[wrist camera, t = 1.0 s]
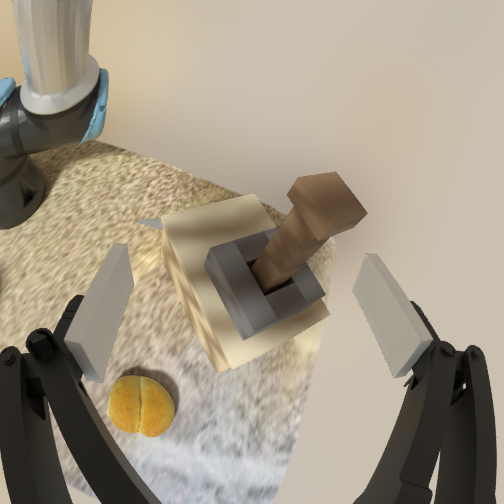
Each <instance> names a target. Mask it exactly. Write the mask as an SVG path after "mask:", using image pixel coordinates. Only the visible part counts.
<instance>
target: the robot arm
mask: <svg viewBox="0 0 504 504" xmlns="http://www.w3.org/2000/svg"><path fill="white" fill-rule="evenodd" d="M12 1H13V12H14V20H15V27H16V34H17V39H18V44H19V50H20V55H21V59H22V64H23V68H24V72H25V76H26V78H25V79H24V81H23V83H22V85H21V86H18V87H16V82H15V81H14V79H13V78H3V79H1V80H0V229H1V230H3V229H9V228H12V227H15V226H17V225H19V224H21V223H22V222H24V221H25V220H26V219H28V218H29V217H30V216H31V215H32V214H33V213H34V212H35V211H36V209H37V208H38V207H39V205H40V203H41V202H42V200H43V197H44V195H45V190H46V182H45V178H44V175H43V172H42V170H41V168H40V167H39V166H38V164H37V163H36V162H35V161H34V159H33V158H32V157H31V156H30V154H34V153H38V152H42V151H46V150H50V149H54V148H59V147H63V146H68V145H74V144H77V145H78V144H82V143H83V142H87V141H91V140H95V139H96V138H98V137H99V136H100V135H101V133H102V130H103V127H104V122H105V116H106V105H107V98H108V83H109V82H108V81H109V78H108V71H107V70H106V69H101V68H99V66H98V63H97V61H96V60H95V59H94V58H93V57H92V56H91V55H89V35H90V21H91V11H92V2H93V0H12ZM133 287H134V281H133V276H132V271H131V265H130V260H129V254H128V248H127V244H113V246H112V248H111V249H110V251H109V253H108V254H107V256H106V258H105V260H104V261H103V263H102V265H101V267H100V268H99V270H98V272H97V274H96V275H95V277H94V279H93V281H92V283H91V285H90V287H89V288H88V290H87V292H86V294H85V296H83V295H76V296H75V297H74V298H73V299H72V300H71V301H69V303H68V305H67V307H66V309H65V312H64V313H63V315H62V318H60V320H59V322H58V324H57V327H56V329H55V331H54V333H53V334H52V333H51V331H50V330H48V329H47V328H39V329H36V330H34V331H33V332H31V333H30V335H29V336H28V337H27V340H26V348H27V349H28V351H29V352H30V353H24V354H21V353H20V351H19V350H18V348H16V347H14V346H9V347H7V348H5V349H4V350H3V351H2V352H1V353H0V452H1V459H2V465H3V470H4V475H5V480H6V485H7V489H8V493H9V497H10V500H11V504H73V503H72V500H71V498H70V495H69V492H68V489H67V486H66V483H65V479H64V476H63V473H62V469H61V465H60V462H59V458H58V454H57V449H56V445H55V440H54V436H53V430H52V425H51V419H50V413H49V406H48V402H49V405H50V407H51V410H52V412H53V415H54V417H55V419H56V422H57V424H58V426H59V429H60V431H61V433H62V435H63V437H64V440H65V442H66V444H67V446H68V448H69V450H70V452H71V454H72V456H73V457H74V459H75V461H76V463H77V465H78V467H79V468H80V470H81V472H82V474H83V475H84V477H85V479H86V480H87V482H88V484H89V485H90V487H91V488H92V490H93V491H94V493H95V494H96V496H97V497H98V499H99V500H100V502H101V503H102V504H162V503H161V502H160V501H159V499H158V498H157V497H156V496H155V495H154V494H153V492H152V491H151V490H150V489H149V488H148V486H147V485H146V484H145V483H144V481H143V480H142V479H141V477H140V476H139V475H138V474H137V472H136V471H135V470H134V468H133V467H132V465H131V464H130V463H129V461H128V460H127V458H126V457H125V456H124V454H123V453H122V451H121V450H120V448H119V447H118V445H117V444H116V442H115V440H114V439H113V437H112V436H111V434H110V432H109V431H108V429H107V428H106V426H105V424H104V422H103V421H102V419H101V417H100V415H99V414H98V412H97V410H96V408H95V406H94V405H93V403H92V401H91V399H90V397H89V395H88V393H87V391H86V389H85V387H84V385H83V383H82V381H81V378H82V374H84V375H85V377H86V379H87V380H90V381H95V382H100V383H103V380H104V376H105V372H106V369H107V365H108V362H109V358H110V355H111V352H112V348H113V345H114V342H115V339H116V336H117V332H118V329H119V326H120V323H121V320H122V317H123V315H124V312H125V309H126V306H127V303H128V300H129V298H130V295H131V292H132V289H133ZM353 293H354V294H355V296H356V298H357V300H358V302H359V304H360V306H361V308H362V310H363V312H364V314H365V316H366V318H367V321H368V323H369V325H370V327H371V329H372V331H373V333H374V335H375V337H376V340H377V342H378V344H379V346H380V348H381V351H382V353H383V355H384V357H385V360H386V362H387V364H388V366H389V369H390V371H391V373H392V376H393V378H398V377H402V376H406V374H407V373H408V372H409V371H410V370H411V368H412V370H413V372H414V374H413V375H412V376H411V378H410V379H409V380H408V381H407V382H406V383H405V385H404V387H406V386H407V385H408V384H409V385H408V389H407V392H406V395H405V398H404V401H403V404H402V407H401V410H400V413H399V416H398V418H397V421H396V424H395V426H394V429H393V431H392V434H391V436H390V439H389V441H388V443H387V446H386V448H385V451H384V453H383V455H382V457H381V460H380V462H379V464H378V466H377V468H376V470H375V472H374V474H373V476H372V478H371V480H370V482H369V484H368V485H367V488H366V489H365V491H364V492H363V493H362V494H361V495H360V496H359V497H358V498H357V499H356V500H355V502H354V503H353V504H430V502H431V499H432V495H433V494H432V491H431V490H430V489H429V483H430V480H431V477H432V474H433V471H434V468H435V465H436V462H437V459H438V455H439V452H440V462H439V472H438V480H437V487H436V494H435V500H434V504H496V498H495V489H496V469H497V468H496V467H497V449H496V429H495V416H494V408H493V400H492V393H491V387H490V380H489V375H488V370H487V365H486V360H485V356H484V354H483V352H482V350H481V349H480V348H479V347H477V346H475V345H470V346H468V348H467V349H466V350H465V351H464V352H463V351H456V350H455V348H454V347H453V346H452V345H451V344H450V343H448V342H446V341H441V340H440V339H439V337H438V335H437V334H436V332H435V330H434V329H433V327H432V326H431V324H430V323H429V321H428V319H427V318H426V316H424V313H423V311H422V310H421V308H420V307H419V306H418V305H416V303H414V302H413V301H409V299H408V298H407V296H406V295H405V293H404V292H403V290H402V289H401V287H400V286H399V284H398V283H397V281H396V280H395V279H394V277H393V276H392V274H391V273H390V271H389V270H388V269H387V267H386V266H385V264H384V263H383V262H382V260H381V259H380V257H379V256H378V255H377V254H366V255H365V258H364V261H363V264H362V266H361V269H360V272H359V275H358V277H357V280H356V283H355V285H354V288H353ZM465 383H466V388H465V389H463V384H465ZM440 448H441V449H440Z"/></svg>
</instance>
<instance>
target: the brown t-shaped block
mask: <svg viewBox="0 0 504 504" xmlns="http://www.w3.org/2000/svg"><path fill="white" fill-rule="evenodd" d="M287 196H288V197H289V199H290V200H291V202H292V203H293V205H294V207H293V209H292V210H291V211H290V213H289V214H288V216H287V217H286V219H285V220H284V221H283V223H282V224H281V226H280V227H279V229H278V230H277V232H276V233H275V234H274V236H273V237H272V239H271V240H270V242H269V243H268V244H267V246H266V247H265V249H264V250H263V252H262V253H261V254H260V256H259V257H258V259H257V260H256V262H255V263H254V264H253V266H252V267H251V269H250V271H251V273H252V275H253V276H254V278H255V280H256V282H257V283H258V285H259V287H260V289H261V290H262V292H263V294H264V296H266V295H268V294H271V293H273V292H275V291H277V290H278V289H279V288H280V287H281V286H282V285H283V284H284V283H285V282H286V281H287V280H288V279H289V278H290V277H291V276H292V275H293V274H294V273H295V272H296V271H297V270H298V269H299V268H300V267H301V266H302V265H303V264H304V263H305V262H306V261H307V260H308V259H309V258H310V257H311V256H312V255H313V254H314V253H315V252H316V251H317V250H318V249H319V248H320V247H321V246H322V245H323V244H324V243H325V242H326V241H327V240H328V239H329V238H330V237H331V236H333V235H336V234H338V233H341V232H343V231H346V230H348V229H351V228H354V227H355V226H356V225H357V224H358V223H359V222H360V220H362V219H363V218H364V217H365V216H366V215H367V212H366V211H365V209H364V208H363V206H362V205H361V203H360V202H359V201H358V199H357V198H356V197H355V195H354V194H353V193H352V192H351V190H350V189H349V188H348V186H347V185H346V184H345V183H344V181H343V180H342V179H341V177H340V176H339V175H338V174H337V173H336V172H330V173H323V174H317V175H311V176H304V177H298V178H297V180H296V181H295V183H294V185H293V186H292V188H291V189H290V191H289V192H288V194H287Z"/></svg>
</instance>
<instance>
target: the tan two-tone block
mask: <svg viewBox="0 0 504 504" xmlns="http://www.w3.org/2000/svg"><path fill="white" fill-rule="evenodd" d="M161 222H162V224H163V236H162V247H161V257H162V260H163V262H164V264H165V267H166V269H167V271H168V274H169V276H170V278H171V281H172V283H173V285H174V287H175V290H176V292H177V294H178V296H179V299H180V301H181V303H182V305H183V307H184V309H185V311H186V314H187V316H188V318H189V320H190V322H191V324H192V326H193V328H194V330H195V332H196V334H197V336H198V338H199V340H200V342H201V344H202V346H203V348H204V350H205V352H206V354H207V356H208V358H209V360H210V362H211V363H212V365H213V367H214V369H215V371H216V373H220V372H222V371H224V370H226V369H228V368H230V367H231V368H232V369H235V368H237V367H239V366H241V365H243V364H245V363H247V362H248V361H250V360H252V359H254V358H256V357H258V356H260V355H262V354H264V353H265V352H267V351H269V350H271V349H273V348H274V347H276V346H278V345H280V344H282V343H283V342H285V341H287V340H289V339H290V338H292V337H294V336H296V335H297V334H299V333H301V332H302V331H304V330H306V329H307V328H309V327H311V326H312V325H314V324H316V323H317V322H319V321H321V320H322V319H324V318H325V317H327V316H329V315H330V313H329V311H328V310H327V308H326V306H325V304H324V303H323V301H322V299H321V298H322V297H323V296H325V295H326V294H325V292H324V291H323V289H322V287H321V286H320V284H319V282H318V281H317V279H316V278H315V276H314V274H313V273H312V271H311V269H310V268H309V266H308V265H307V263H306V262H305V263H304V264H303V265H302V266H301V267H300V268H299V269H298V270H297V271H296V272H295V273H294V274H293V275H292V276H291V277H290V278H289V279H288V280H287V281H286V282H285V283H284V284H283V285H282V286H281V287H280V288H279V289H278V290H277V291H275V292H273V293H271V294H268V295H266V296H264V294H263V292H262V290H261V289H260V287H259V285H258V283H257V282H256V280H255V278H254V276H253V275H252V273H251V271H250V269H251V267H252V266H253V264H254V263H255V262H256V260H257V259H258V257H259V256H260V254H261V253H262V252H263V250H264V249H265V247H266V246H267V244H268V243H269V242H270V240H271V239H272V237H273V236H274V234H275V233H276V232H277V230H278V229H279V227H280V226H279V227H277V226H276V225H275V223H274V222H273V220H272V219H271V217H270V215H269V214H268V212H267V211H266V209H265V208H264V206H263V205H262V203H261V202H260V200H259V199H258V197H257V195H256V194H255V193H254V194H250V195H245V196H240V197H236V198H231V199H227V200H223V201H218V202H214V203H210V204H206V205H201V206H197V207H193V208H189V209H185V210H181V211H177V212H173V213H170V214H166V215H162V217H161Z"/></svg>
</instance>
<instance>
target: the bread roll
mask: <svg viewBox="0 0 504 504" xmlns="http://www.w3.org/2000/svg"><path fill="white" fill-rule="evenodd" d="M107 415H108V416H109V417H110V419H111V421H112V423H113V424H114V425H115V426H116V427H118V428H119V429H121V430H122V431H125V432H129V433H136V432H139V433H142V434H143V435H145V436H148V437H156V436H159V435H161V434H162V433H164V432H165V431H166V430H167V429H168V428H169V427H170V425H171V423H172V422H173V419H174V415H175V408H174V404H173V401H172V399H171V397H170V395H169V393H168V392H167V391H166V389H165V388H164V387H163V386H162V385H160V384H159V383H158V382H156V381H155V380H153V379H151V378H148V377H144V376H133V375H130V376H123V377H120V378H118V379H117V380H116V381H115V382H114V384H113V385H112V386H111V391H110V393H109V400H108V406H107Z"/></svg>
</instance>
